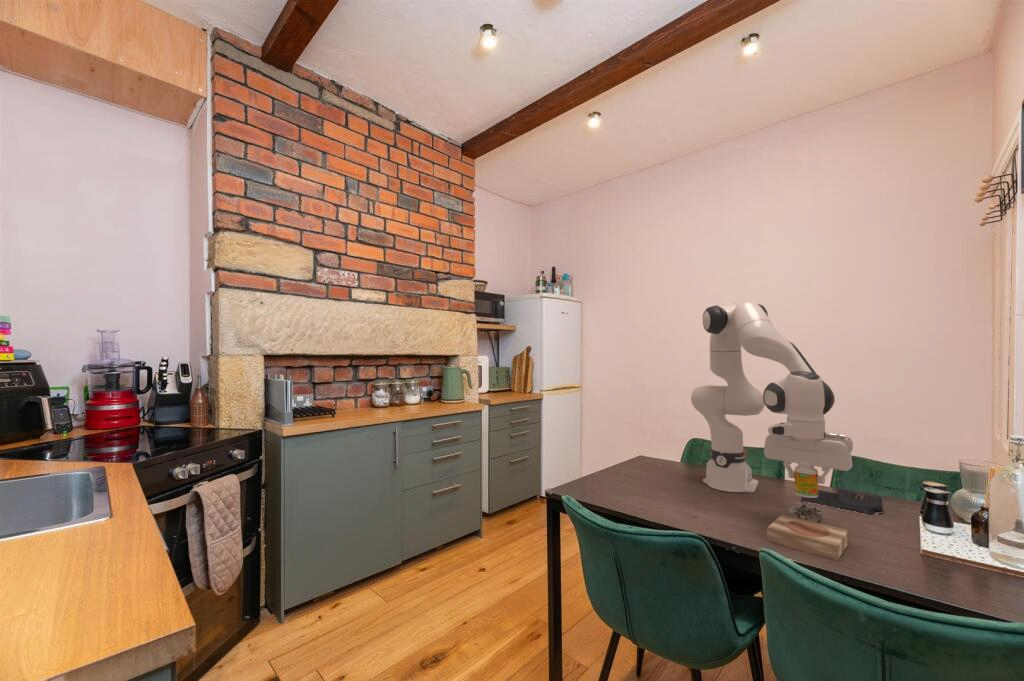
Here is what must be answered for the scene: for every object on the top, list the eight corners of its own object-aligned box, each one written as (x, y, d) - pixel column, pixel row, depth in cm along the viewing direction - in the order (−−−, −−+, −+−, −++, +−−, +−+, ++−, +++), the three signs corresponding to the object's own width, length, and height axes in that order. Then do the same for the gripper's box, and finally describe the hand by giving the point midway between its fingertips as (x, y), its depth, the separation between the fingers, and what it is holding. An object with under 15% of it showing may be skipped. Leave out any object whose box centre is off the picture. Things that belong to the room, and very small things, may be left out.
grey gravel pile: (815, 528, 131) (814, 514, 131) (786, 520, 137) (786, 507, 137) (825, 518, 138) (825, 505, 138) (798, 512, 144) (798, 499, 144)
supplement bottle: (796, 496, 119) (796, 460, 120) (793, 491, 124) (792, 456, 124) (820, 499, 117) (819, 462, 117) (816, 493, 122) (815, 458, 122)
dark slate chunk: (807, 493, 163) (807, 480, 163) (884, 508, 148) (884, 493, 148) (798, 503, 152) (798, 489, 152) (880, 520, 137) (880, 505, 137)
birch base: (782, 526, 131) (782, 513, 131) (848, 543, 119) (848, 529, 120) (767, 540, 121) (767, 526, 121) (838, 561, 110) (837, 545, 110)
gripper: (854, 434, 116) (855, 486, 115) (768, 424, 131) (769, 470, 130) (850, 437, 111) (851, 491, 111) (761, 427, 126) (762, 475, 126)
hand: (806, 480), depth 121 cm, fingers closed on supplement bottle, 5 cm apart
